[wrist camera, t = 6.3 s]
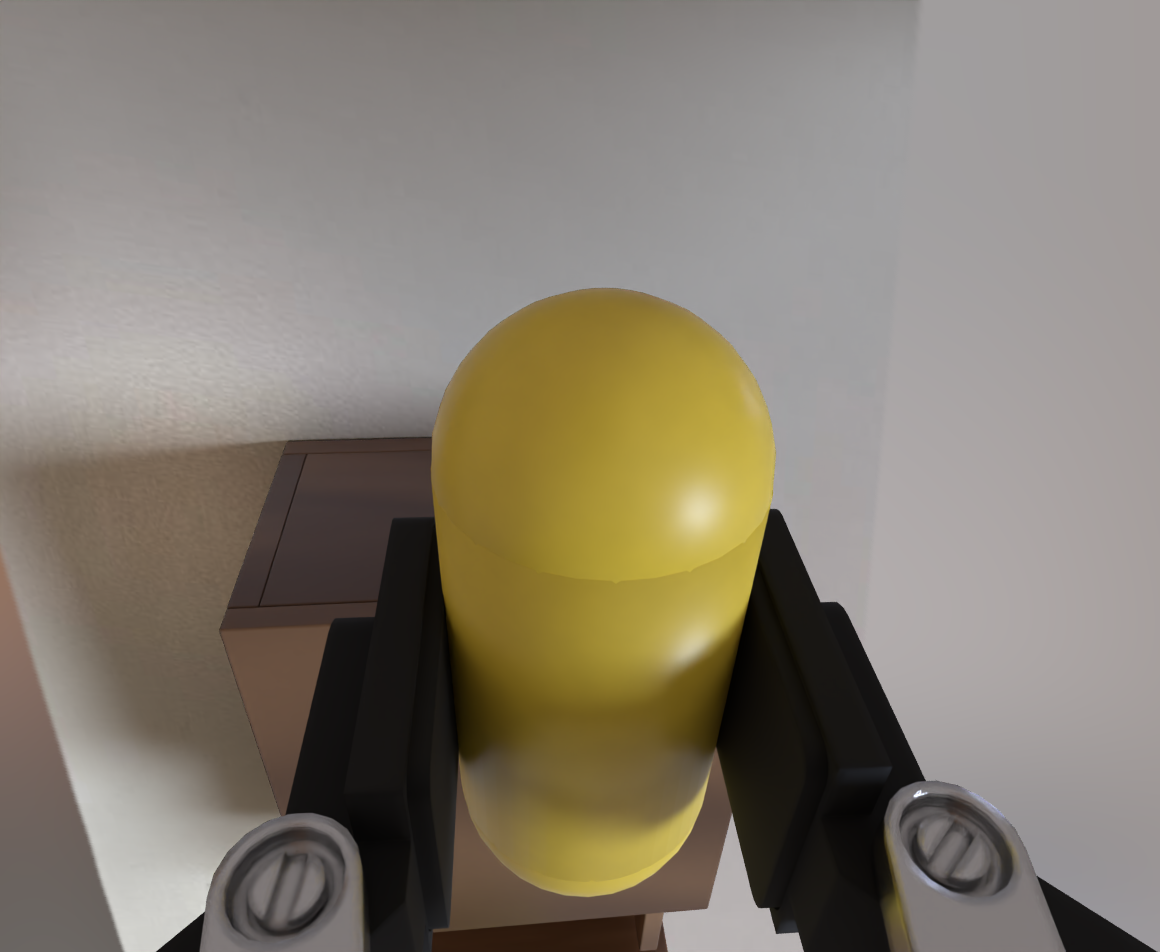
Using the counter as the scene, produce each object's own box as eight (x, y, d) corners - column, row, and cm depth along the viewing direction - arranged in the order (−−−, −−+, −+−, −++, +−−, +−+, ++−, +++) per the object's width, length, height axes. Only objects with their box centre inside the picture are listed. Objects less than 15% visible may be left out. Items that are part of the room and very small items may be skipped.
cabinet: (666, 724, 38) (708, 909, 31) (353, 744, 36) (322, 942, 30) (712, 429, 28) (786, 603, 21) (286, 440, 27) (217, 630, 20)
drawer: (638, 876, 44) (660, 1015, 39) (392, 897, 43) (379, 1043, 37) (673, 632, 33) (711, 779, 27) (340, 649, 32) (310, 807, 26)
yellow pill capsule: (552, 213, 9) (327, 326, 7) (856, 285, 8) (713, 462, 5) (547, 697, 15) (419, 860, 12) (727, 792, 13) (624, 998, 11)
